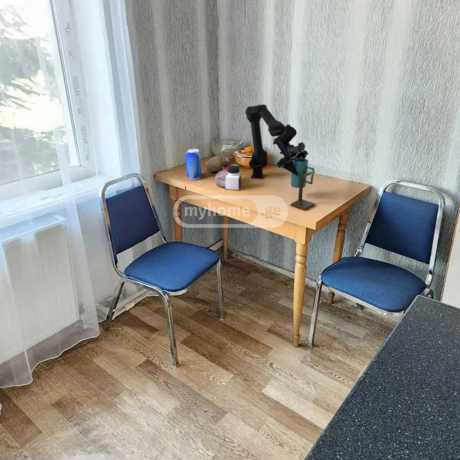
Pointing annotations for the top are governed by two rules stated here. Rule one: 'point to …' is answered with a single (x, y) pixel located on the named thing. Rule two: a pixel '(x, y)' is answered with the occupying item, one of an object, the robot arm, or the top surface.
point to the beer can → (193, 164)
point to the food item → (222, 177)
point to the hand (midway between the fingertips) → (301, 173)
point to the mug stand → (300, 202)
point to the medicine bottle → (233, 178)
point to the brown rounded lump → (216, 163)
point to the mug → (301, 172)
